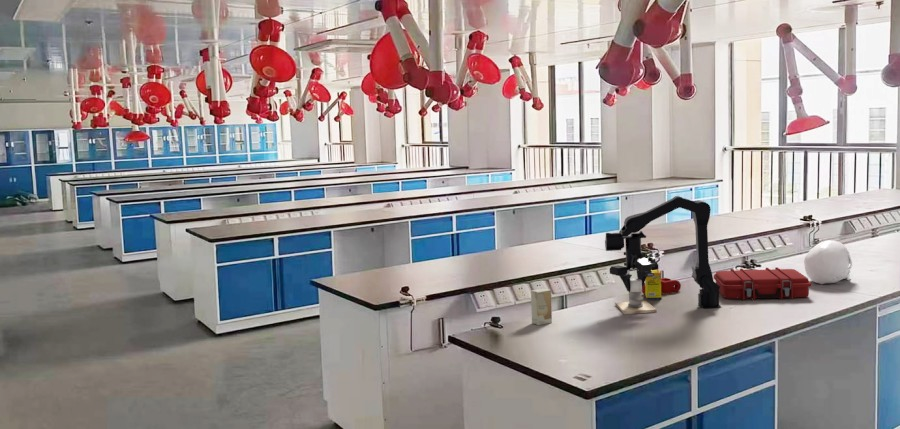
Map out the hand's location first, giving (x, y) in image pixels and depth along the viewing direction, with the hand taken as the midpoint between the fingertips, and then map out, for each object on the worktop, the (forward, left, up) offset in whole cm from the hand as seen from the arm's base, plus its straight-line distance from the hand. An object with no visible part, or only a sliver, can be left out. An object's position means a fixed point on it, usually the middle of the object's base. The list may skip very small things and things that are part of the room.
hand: (634, 290), depth 278 cm
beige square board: (0, 0, -7) cm, 7 cm away
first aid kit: (-52, -12, -8) cm, 54 cm away
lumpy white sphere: (-87, -25, -7) cm, 91 cm away
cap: (0, 0, 0) cm, 0 cm away
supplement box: (-11, -15, -7) cm, 20 cm away
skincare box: (+37, +12, -7) cm, 40 cm away
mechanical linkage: (-16, -24, -8) cm, 30 cm away
